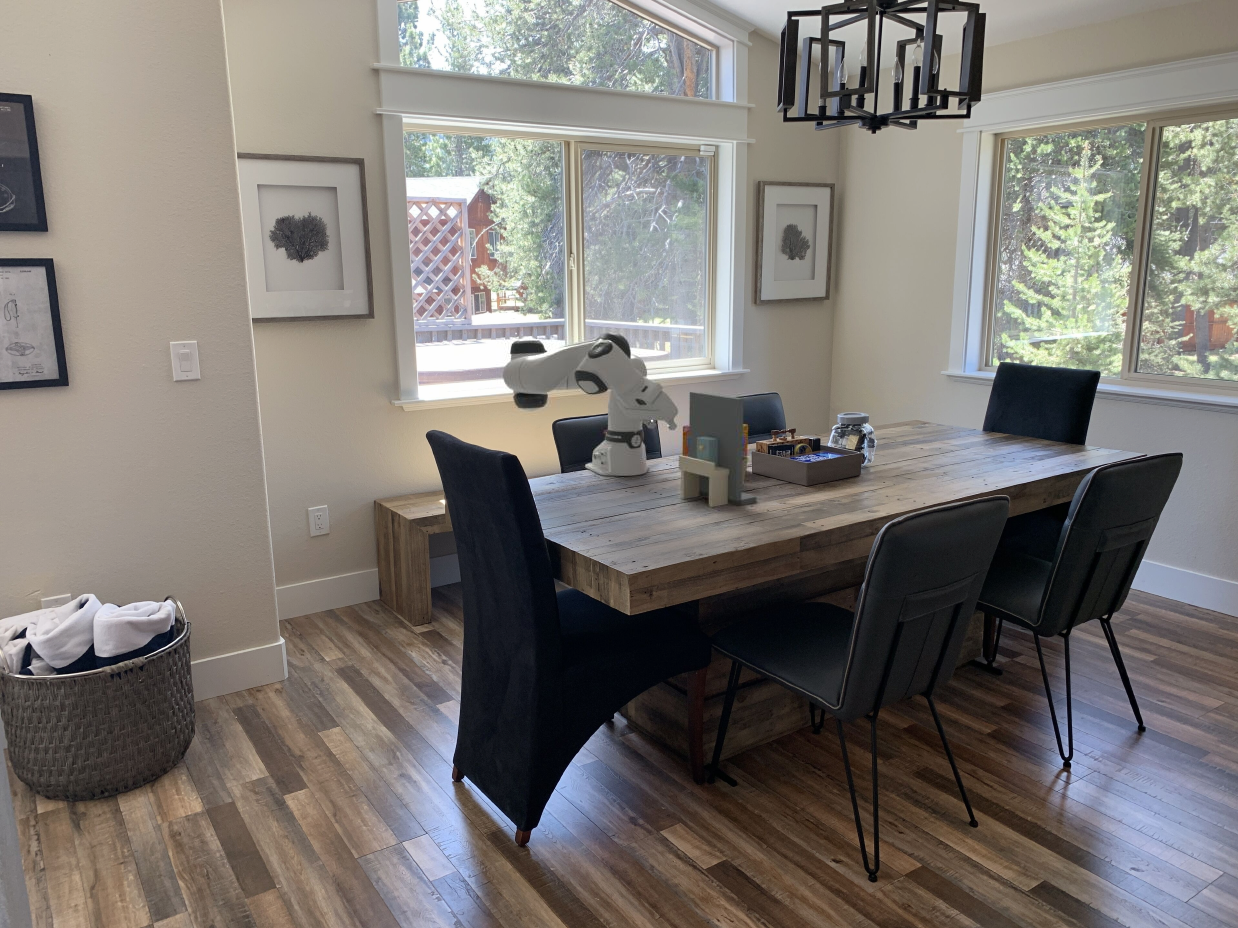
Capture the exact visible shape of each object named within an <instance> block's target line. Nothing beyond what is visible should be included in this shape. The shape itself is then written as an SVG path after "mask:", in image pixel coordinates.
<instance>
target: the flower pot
mask: <svg viewBox="0 0 1238 928" xmlns="http://www.w3.org/2000/svg"><path fill="white" fill-rule="evenodd" d="M749 460H750V458H749V456H747V457H746V456H742V487H744V484H745V476H746V472H747V471H746V465H747V466H748V461H749Z"/></svg>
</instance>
